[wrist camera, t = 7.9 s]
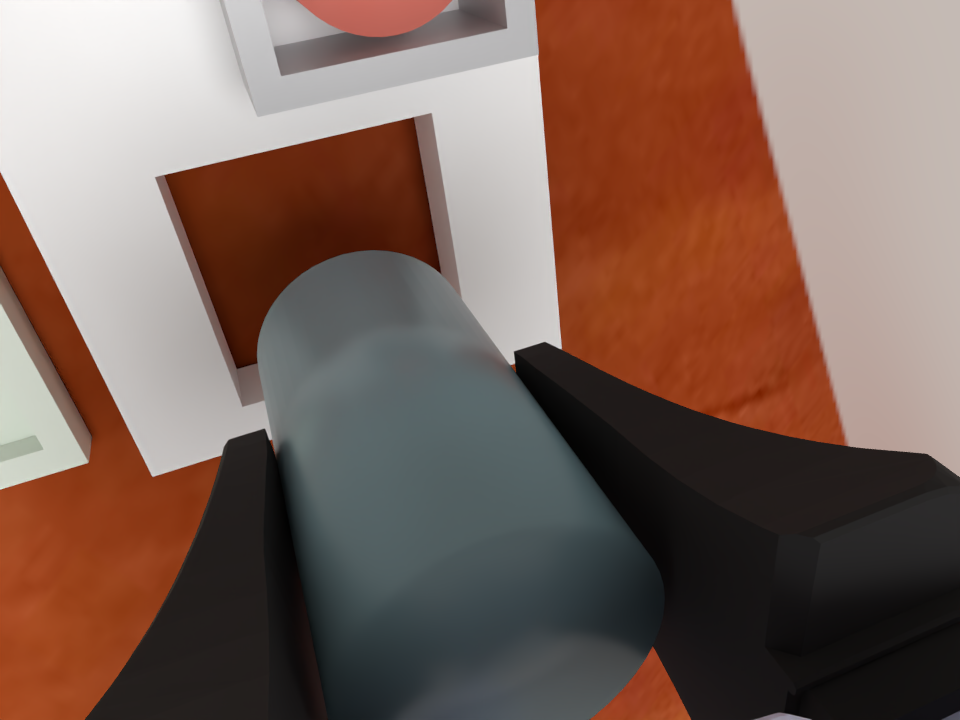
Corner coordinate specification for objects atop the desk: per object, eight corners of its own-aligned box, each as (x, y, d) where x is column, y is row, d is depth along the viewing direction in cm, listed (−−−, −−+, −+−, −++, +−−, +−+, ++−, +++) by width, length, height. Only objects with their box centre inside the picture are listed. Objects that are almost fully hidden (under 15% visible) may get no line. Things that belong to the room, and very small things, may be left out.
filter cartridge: (479, 401, 17) (664, 697, 11) (290, 462, 17) (370, 823, 10) (451, 225, 15) (665, 474, 9) (227, 284, 14) (280, 613, 8)
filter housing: (535, 318, 25) (608, 402, 20) (153, 434, 22) (151, 555, 18) (474, -284, 16) (577, -341, 12) (-154, -209, 14) (-287, -253, 10)
